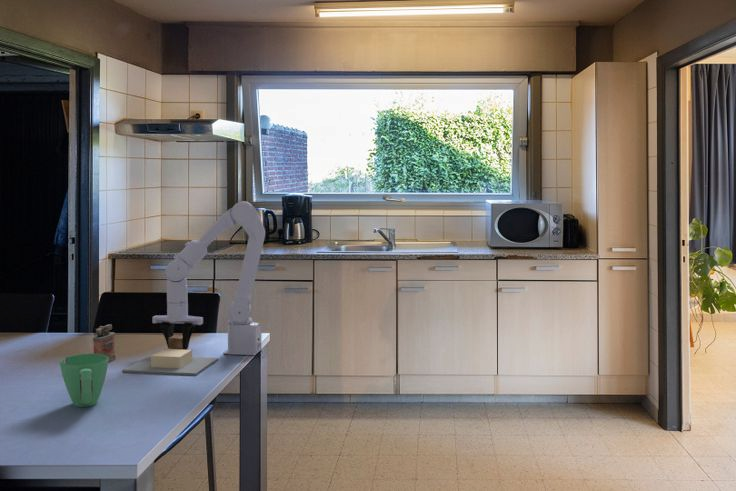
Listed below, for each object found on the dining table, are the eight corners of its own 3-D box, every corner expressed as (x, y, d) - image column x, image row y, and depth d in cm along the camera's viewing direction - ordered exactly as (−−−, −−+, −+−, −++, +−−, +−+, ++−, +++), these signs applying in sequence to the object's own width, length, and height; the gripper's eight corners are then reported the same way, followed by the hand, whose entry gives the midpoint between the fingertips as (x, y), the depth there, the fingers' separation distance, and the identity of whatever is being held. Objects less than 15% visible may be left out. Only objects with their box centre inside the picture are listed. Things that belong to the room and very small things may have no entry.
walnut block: (187, 352, 194) (187, 335, 193) (181, 355, 190) (181, 338, 189) (174, 351, 194) (174, 335, 194) (168, 355, 190) (168, 338, 190)
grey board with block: (218, 360, 185) (218, 347, 185) (196, 375, 169) (195, 361, 169) (150, 357, 188) (150, 344, 188) (122, 372, 172) (122, 358, 172)
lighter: (101, 366, 178) (100, 329, 177) (90, 365, 179) (89, 328, 178) (118, 358, 186) (117, 323, 185) (107, 358, 187) (106, 322, 186)
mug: (60, 399, 149) (59, 356, 148) (107, 394, 153) (106, 351, 152) (62, 420, 136) (60, 372, 135) (113, 413, 140) (112, 367, 139)
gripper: (147, 303, 188) (148, 350, 189) (196, 304, 186) (196, 352, 187) (158, 299, 195) (159, 344, 196) (205, 300, 193) (206, 346, 194)
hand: (178, 348), depth 192 cm, fingers closed on walnut block, 4 cm apart
